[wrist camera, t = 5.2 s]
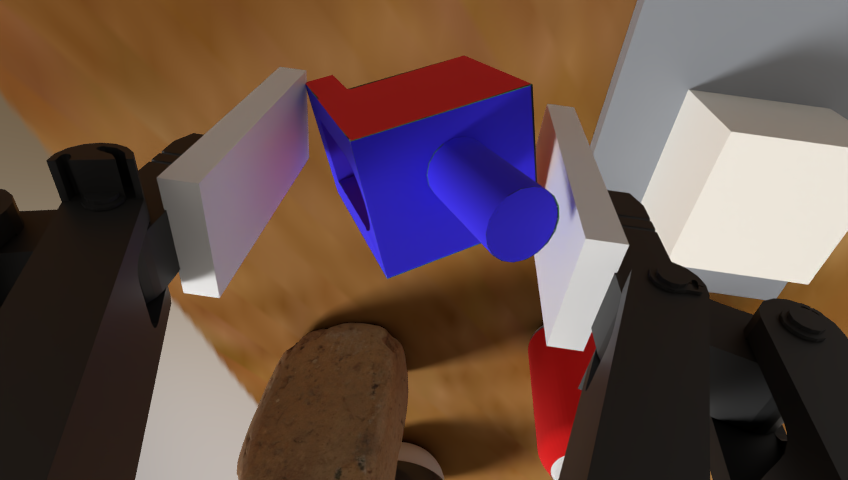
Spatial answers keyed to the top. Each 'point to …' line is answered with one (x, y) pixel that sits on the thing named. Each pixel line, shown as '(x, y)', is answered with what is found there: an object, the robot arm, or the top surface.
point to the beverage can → (555, 395)
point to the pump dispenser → (417, 464)
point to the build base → (719, 65)
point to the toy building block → (437, 163)
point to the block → (331, 409)
